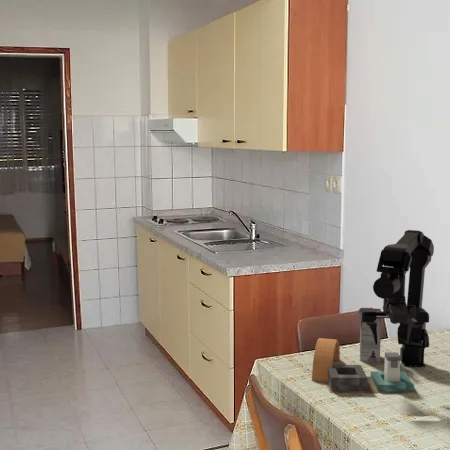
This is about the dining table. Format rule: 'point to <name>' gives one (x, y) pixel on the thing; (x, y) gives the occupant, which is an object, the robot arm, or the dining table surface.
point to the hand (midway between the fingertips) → (392, 344)
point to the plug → (392, 367)
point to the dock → (364, 381)
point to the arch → (324, 358)
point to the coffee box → (370, 342)
